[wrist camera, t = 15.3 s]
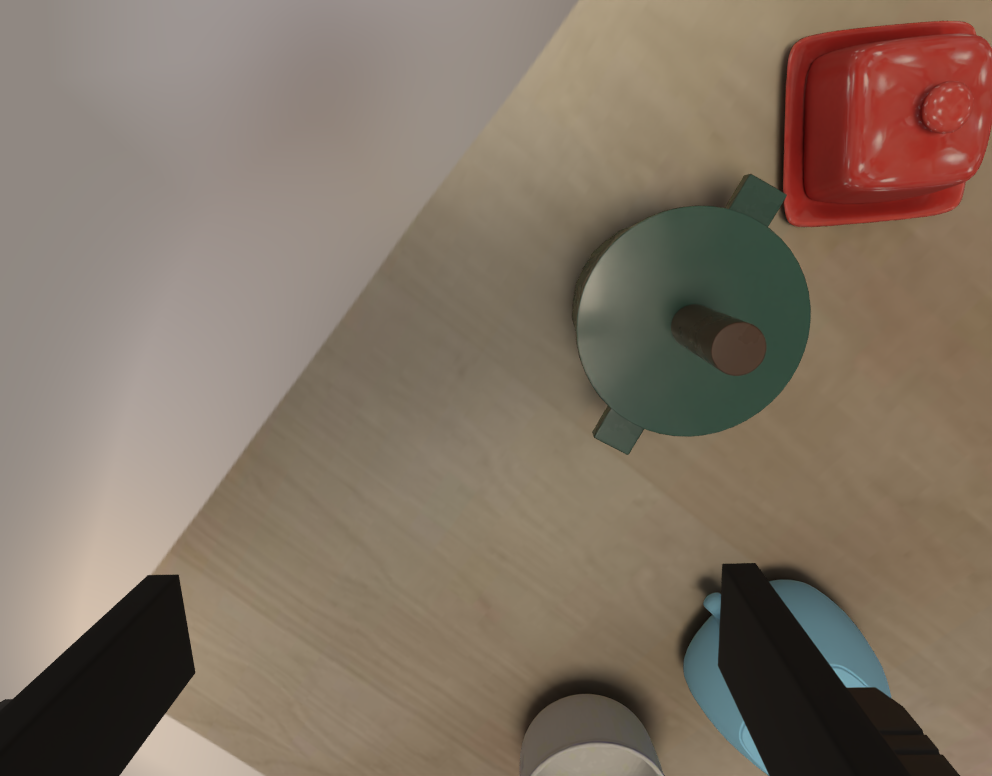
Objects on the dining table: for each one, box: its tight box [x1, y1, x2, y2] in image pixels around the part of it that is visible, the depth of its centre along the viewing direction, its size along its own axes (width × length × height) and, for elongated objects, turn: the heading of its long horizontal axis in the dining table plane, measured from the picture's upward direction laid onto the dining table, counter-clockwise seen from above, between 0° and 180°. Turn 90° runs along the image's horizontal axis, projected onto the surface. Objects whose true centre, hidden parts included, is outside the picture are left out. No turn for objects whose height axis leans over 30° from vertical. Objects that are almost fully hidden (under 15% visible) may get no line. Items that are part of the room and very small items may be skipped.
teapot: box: [684, 579, 891, 776], centre depth 45 cm, size 13×11×18 cm
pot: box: [572, 174, 787, 455], centre depth 40 cm, size 12×17×8 cm
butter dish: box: [783, 21, 992, 227], centre depth 37 cm, size 12×12×8 cm
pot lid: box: [575, 206, 811, 436], centre depth 32 cm, size 13×13×9 cm
